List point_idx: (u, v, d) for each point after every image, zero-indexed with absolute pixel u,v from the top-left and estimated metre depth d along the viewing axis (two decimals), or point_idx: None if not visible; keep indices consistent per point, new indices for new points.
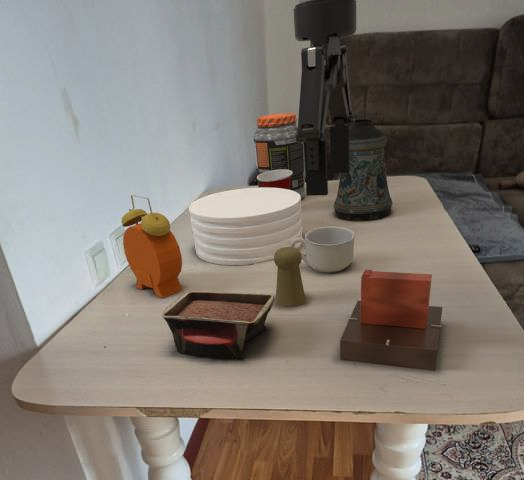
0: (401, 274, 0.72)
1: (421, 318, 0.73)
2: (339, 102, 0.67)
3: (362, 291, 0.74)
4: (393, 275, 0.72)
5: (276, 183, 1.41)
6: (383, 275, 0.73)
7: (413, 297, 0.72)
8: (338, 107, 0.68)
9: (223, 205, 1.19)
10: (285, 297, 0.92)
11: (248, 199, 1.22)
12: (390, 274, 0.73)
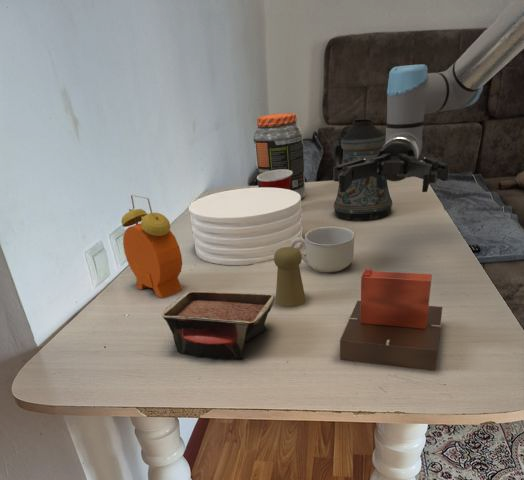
0: (401, 274, 0.72)
1: (421, 318, 0.73)
2: (417, 167, 0.86)
3: (362, 291, 0.74)
4: (393, 275, 0.72)
5: (276, 183, 1.41)
6: (383, 275, 0.73)
7: (413, 297, 0.72)
8: (420, 169, 0.85)
9: (223, 205, 1.19)
10: (285, 297, 0.92)
11: (248, 199, 1.22)
12: (390, 274, 0.73)
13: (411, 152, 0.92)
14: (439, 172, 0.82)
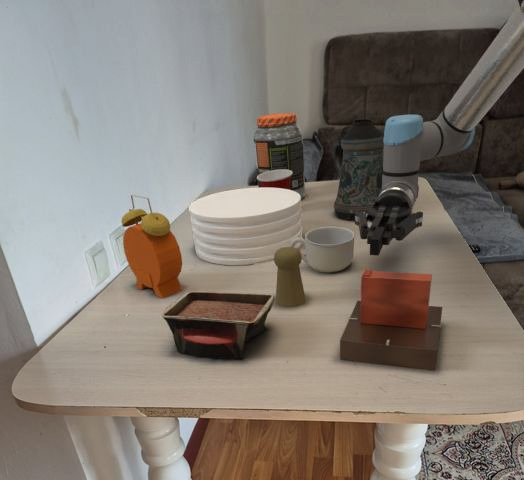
0: (401, 274, 0.72)
1: (421, 318, 0.73)
2: None
3: (362, 291, 0.74)
4: (393, 275, 0.72)
5: (276, 183, 1.41)
6: (383, 275, 0.73)
7: (413, 297, 0.72)
8: None
9: (223, 205, 1.18)
10: (285, 297, 0.92)
11: (248, 199, 1.22)
12: (390, 274, 0.73)
13: (406, 204, 0.94)
14: (393, 233, 0.84)
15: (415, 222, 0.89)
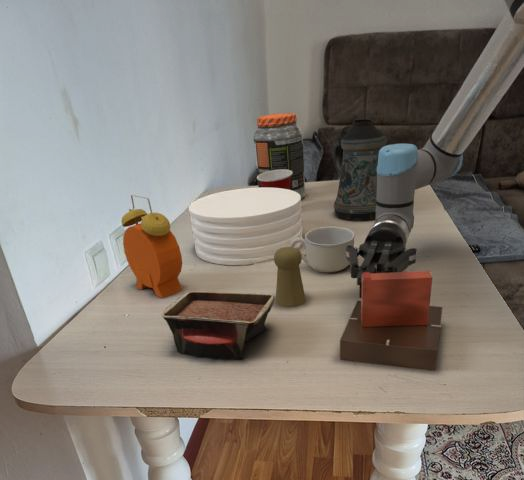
0: (400, 274, 0.72)
1: (423, 315, 0.74)
2: None
3: (364, 294, 0.73)
4: (393, 275, 0.72)
5: (276, 183, 1.41)
6: (384, 276, 0.72)
7: (415, 295, 0.72)
8: None
9: (223, 205, 1.18)
10: (285, 297, 0.92)
11: (248, 199, 1.22)
12: (390, 275, 0.72)
13: (399, 238, 0.90)
14: None
15: (408, 260, 0.85)
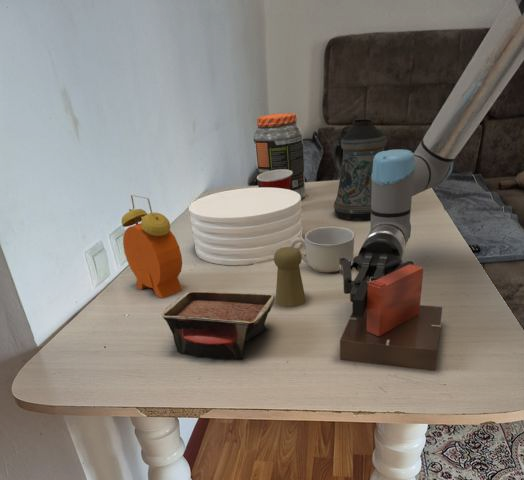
0: (396, 273, 0.73)
1: (417, 306, 0.77)
2: None
3: (381, 302, 0.70)
4: (395, 276, 0.72)
5: (276, 183, 1.41)
6: (389, 279, 0.71)
7: (413, 288, 0.74)
8: None
9: (223, 205, 1.18)
10: (285, 297, 0.92)
11: (248, 199, 1.22)
12: (391, 276, 0.72)
13: (396, 250, 0.85)
14: None
15: None
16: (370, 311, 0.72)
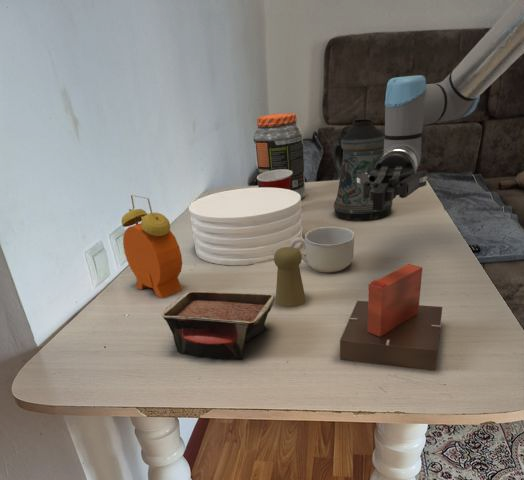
0: (396, 273, 0.73)
1: (416, 305, 0.77)
2: None
3: (382, 303, 0.70)
4: (395, 276, 0.72)
5: (276, 183, 1.41)
6: (389, 279, 0.71)
7: (412, 288, 0.74)
8: None
9: (223, 205, 1.18)
10: (285, 297, 0.92)
11: (248, 199, 1.22)
12: (391, 276, 0.72)
13: (409, 164, 0.91)
14: (397, 189, 0.81)
15: (419, 181, 0.86)
16: (371, 311, 0.72)
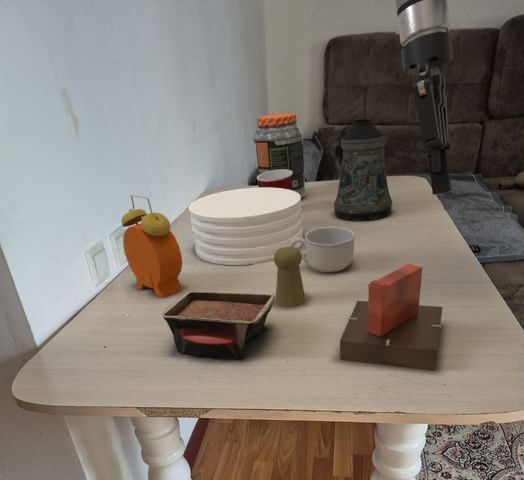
0: (396, 273, 0.73)
1: (416, 305, 0.77)
2: None
3: (382, 303, 0.70)
4: (395, 276, 0.72)
5: (276, 183, 1.41)
6: (389, 279, 0.71)
7: (412, 288, 0.74)
8: None
9: (223, 205, 1.18)
10: (285, 297, 0.92)
11: (248, 199, 1.22)
12: (391, 276, 0.72)
13: None
14: None
15: None
16: (371, 311, 0.72)
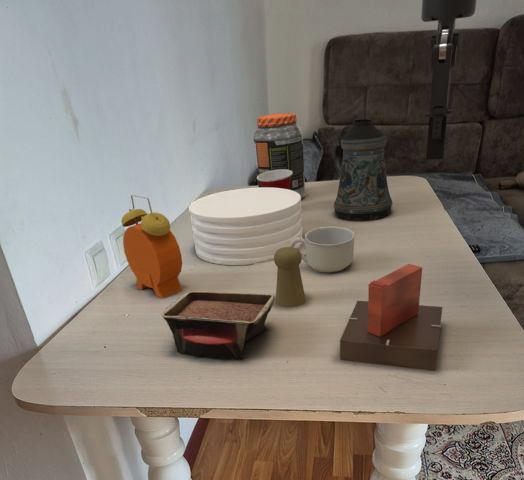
0: (396, 273, 0.73)
1: (416, 305, 0.77)
2: None
3: (382, 303, 0.70)
4: (395, 276, 0.72)
5: (276, 183, 1.41)
6: (389, 279, 0.71)
7: (412, 288, 0.74)
8: None
9: (223, 205, 1.18)
10: (285, 297, 0.92)
11: (248, 199, 1.22)
12: (391, 276, 0.72)
13: None
14: None
15: None
16: (371, 311, 0.72)
